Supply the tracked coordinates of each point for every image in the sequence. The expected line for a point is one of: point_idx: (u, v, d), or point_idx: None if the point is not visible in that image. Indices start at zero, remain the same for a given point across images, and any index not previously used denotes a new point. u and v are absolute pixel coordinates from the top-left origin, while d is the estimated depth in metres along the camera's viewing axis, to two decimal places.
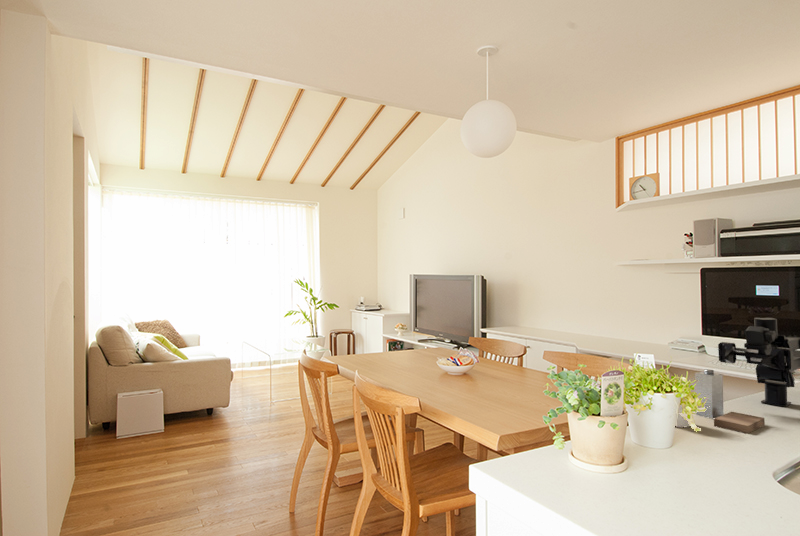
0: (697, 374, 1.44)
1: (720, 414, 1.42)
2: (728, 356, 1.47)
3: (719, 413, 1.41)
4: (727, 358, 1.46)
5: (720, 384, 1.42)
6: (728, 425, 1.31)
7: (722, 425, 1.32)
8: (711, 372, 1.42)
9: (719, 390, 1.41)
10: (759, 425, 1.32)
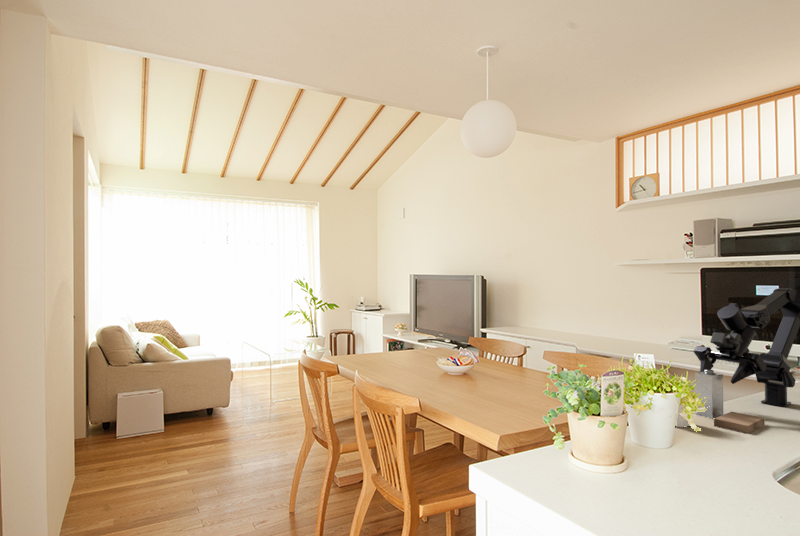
0: (697, 374, 1.44)
1: (720, 414, 1.42)
2: None
3: (719, 413, 1.41)
4: None
5: (720, 384, 1.42)
6: (728, 425, 1.31)
7: (722, 425, 1.32)
8: (711, 372, 1.42)
9: (719, 390, 1.41)
10: (759, 425, 1.32)
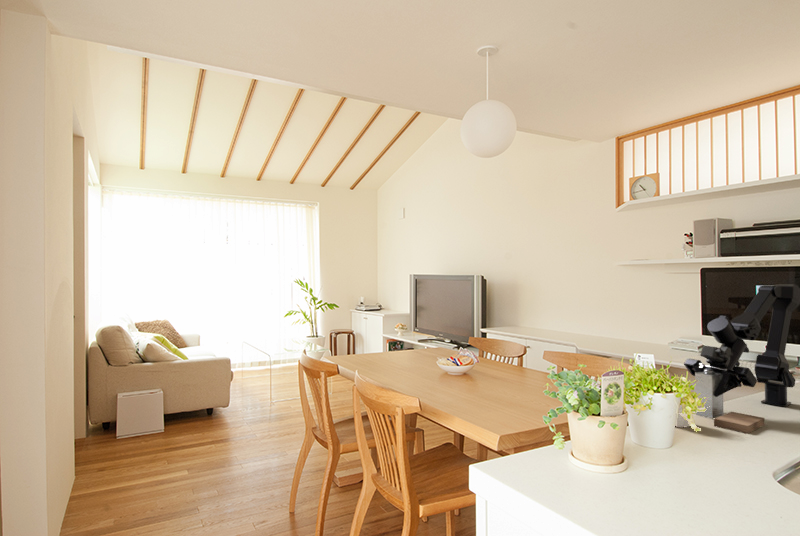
0: (697, 374, 1.44)
1: (720, 414, 1.42)
2: None
3: (719, 413, 1.41)
4: None
5: None
6: (728, 425, 1.31)
7: (722, 425, 1.32)
8: (711, 372, 1.42)
9: None
10: (759, 425, 1.32)
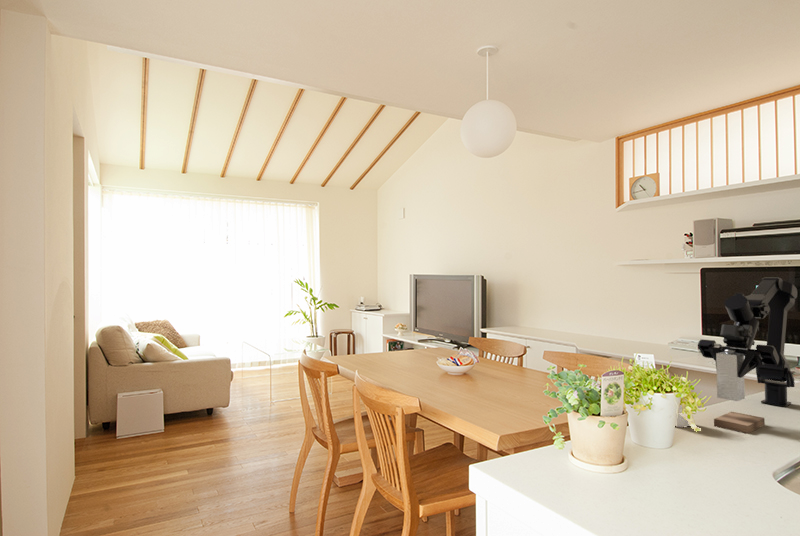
0: (719, 354, 1.36)
1: (742, 396, 1.35)
2: None
3: (742, 394, 1.34)
4: None
5: None
6: (728, 425, 1.31)
7: (722, 425, 1.32)
8: (733, 352, 1.35)
9: None
10: (759, 425, 1.32)
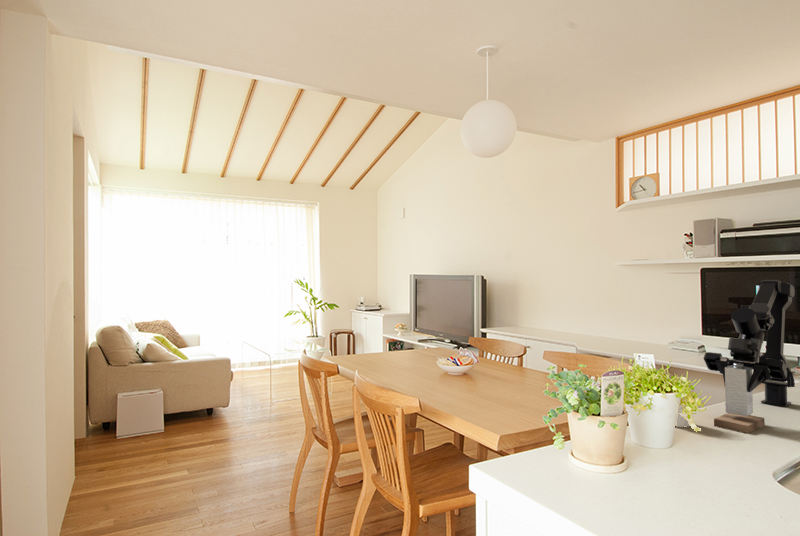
0: (727, 369, 1.34)
1: (751, 410, 1.33)
2: None
3: (751, 409, 1.32)
4: None
5: None
6: (728, 425, 1.31)
7: (722, 425, 1.32)
8: (742, 366, 1.33)
9: None
10: (759, 425, 1.32)
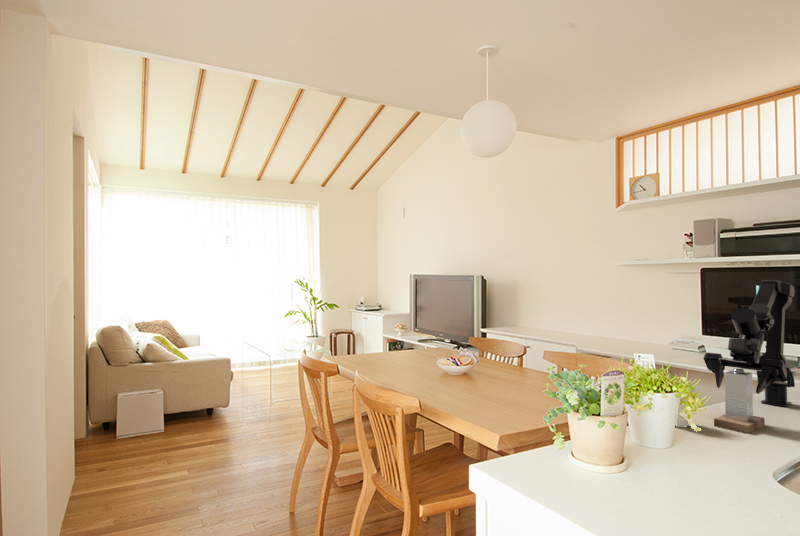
0: (727, 374, 1.34)
1: (751, 416, 1.32)
2: (719, 381, 1.37)
3: (751, 414, 1.32)
4: (719, 384, 1.37)
5: (751, 384, 1.33)
6: (728, 425, 1.31)
7: (722, 425, 1.32)
8: (742, 371, 1.33)
9: (750, 390, 1.32)
10: (759, 425, 1.32)
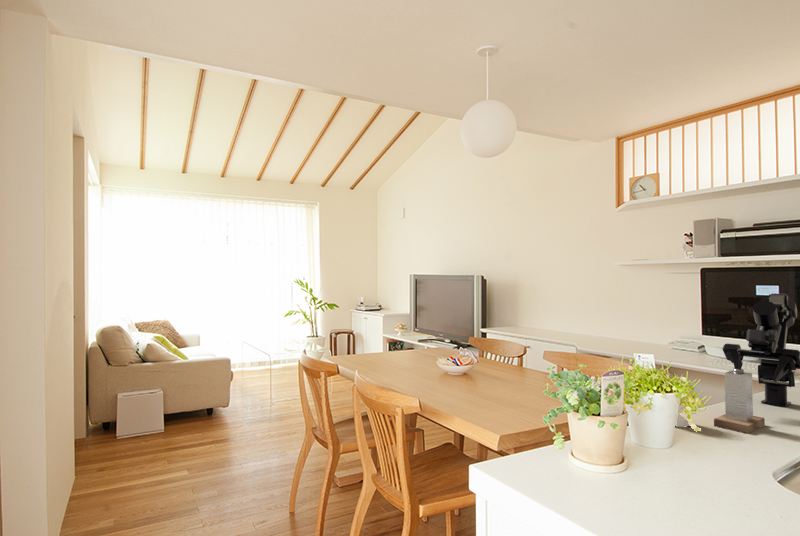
0: (727, 374, 1.34)
1: (751, 416, 1.32)
2: None
3: (751, 414, 1.32)
4: None
5: (751, 384, 1.33)
6: (728, 425, 1.31)
7: (722, 425, 1.32)
8: (742, 371, 1.33)
9: (750, 390, 1.32)
10: (759, 425, 1.32)
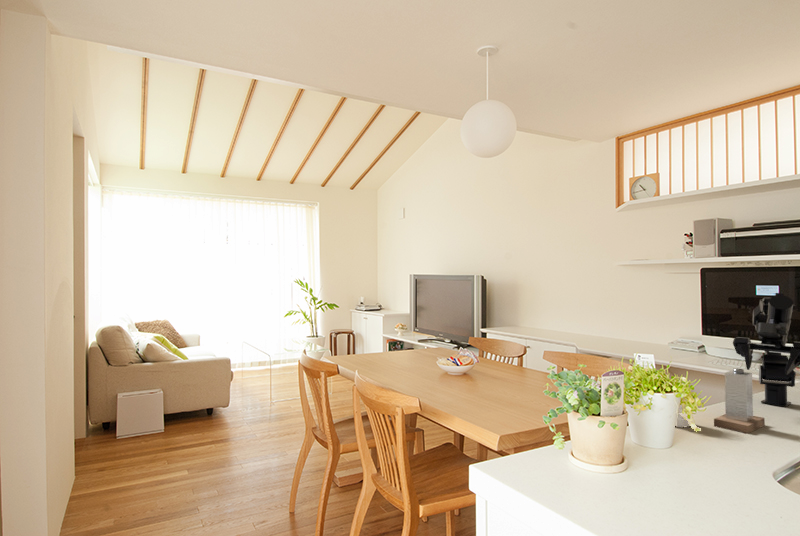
0: (727, 374, 1.34)
1: (751, 416, 1.32)
2: (749, 363, 1.45)
3: (751, 414, 1.32)
4: (749, 367, 1.45)
5: (751, 384, 1.33)
6: (728, 425, 1.31)
7: (722, 425, 1.32)
8: (742, 371, 1.33)
9: (750, 390, 1.32)
10: (759, 425, 1.32)
